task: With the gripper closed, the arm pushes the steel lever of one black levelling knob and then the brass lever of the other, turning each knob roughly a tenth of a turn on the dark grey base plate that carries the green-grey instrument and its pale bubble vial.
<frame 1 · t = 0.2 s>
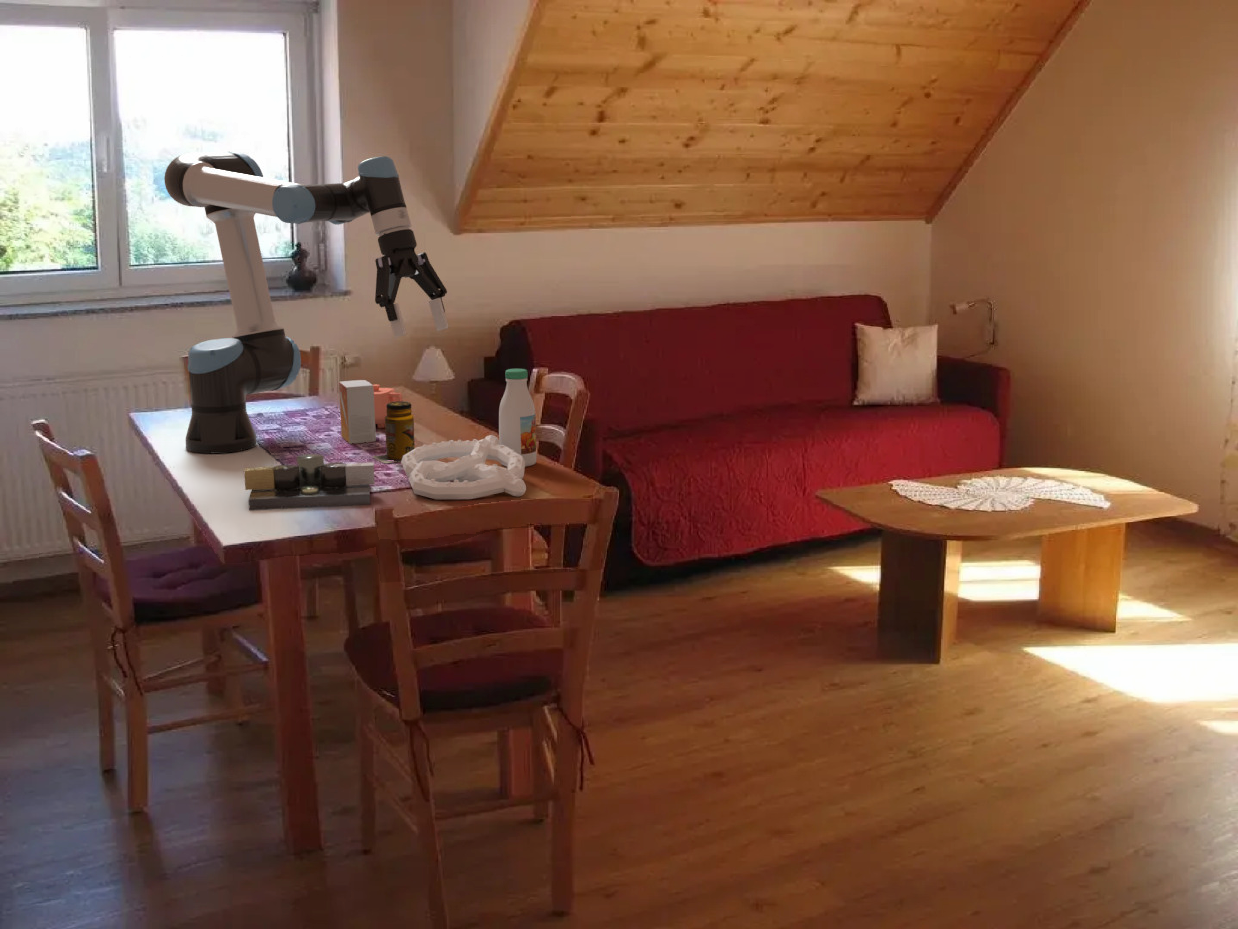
hand: (422, 332, 289), 28 cm above the table, fingers open, 13 cm apart
pretzel: (467, 485, 278), on the table
teapot: (375, 424, 336), on the table
condiment: (396, 459, 300), on the table
base plate: (311, 497, 268), on the table
brass lever knob: (272, 477, 266), point 4 cm above the table, hinge at 0.0°
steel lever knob: (347, 474, 268), point 4 cm above the table, hinge at 0.0°
milk bottle: (518, 464, 295), on the table
small box: (358, 440, 319), on the table
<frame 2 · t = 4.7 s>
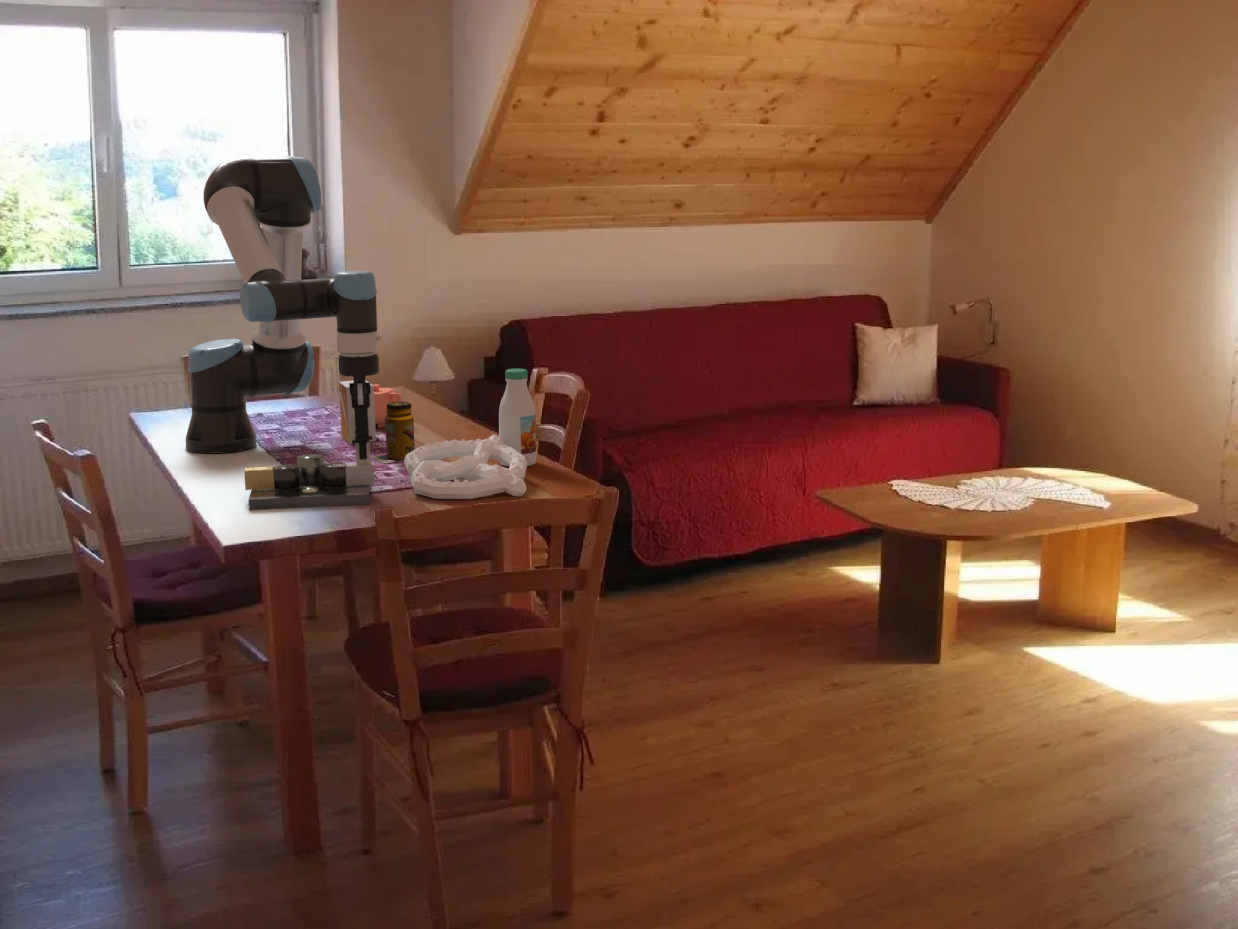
hand: (363, 474, 271), 4 cm above the table, fingers closed
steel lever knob: (347, 474, 268), point 4 cm above the table, hinge at 0.0°, touching gripper
everything else where it was.
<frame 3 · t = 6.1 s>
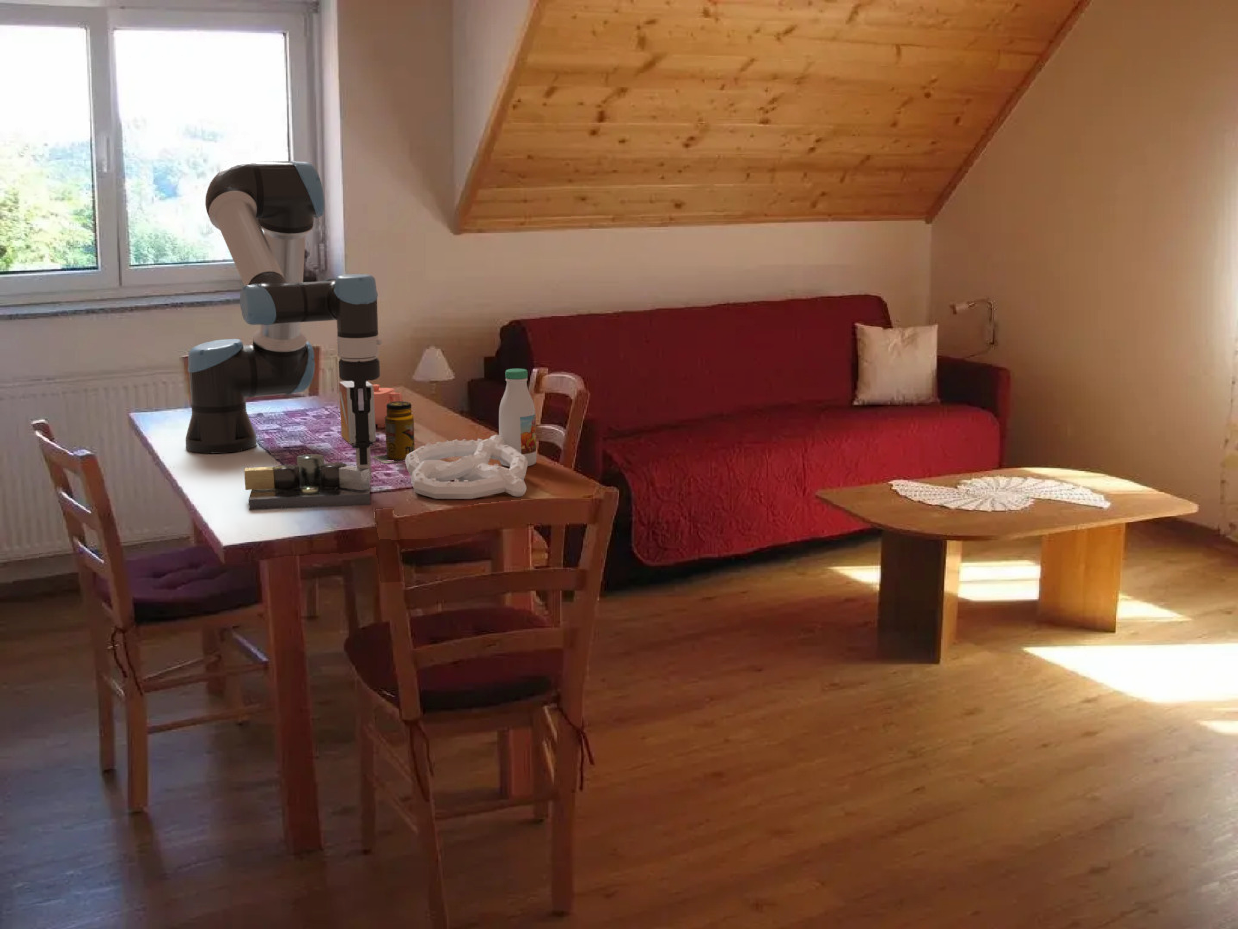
hand: (364, 479, 268), 3 cm above the table, fingers closed
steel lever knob: (344, 476, 267), point 4 cm above the table, hinge at -38.7°, touching gripper
everything else where it was.
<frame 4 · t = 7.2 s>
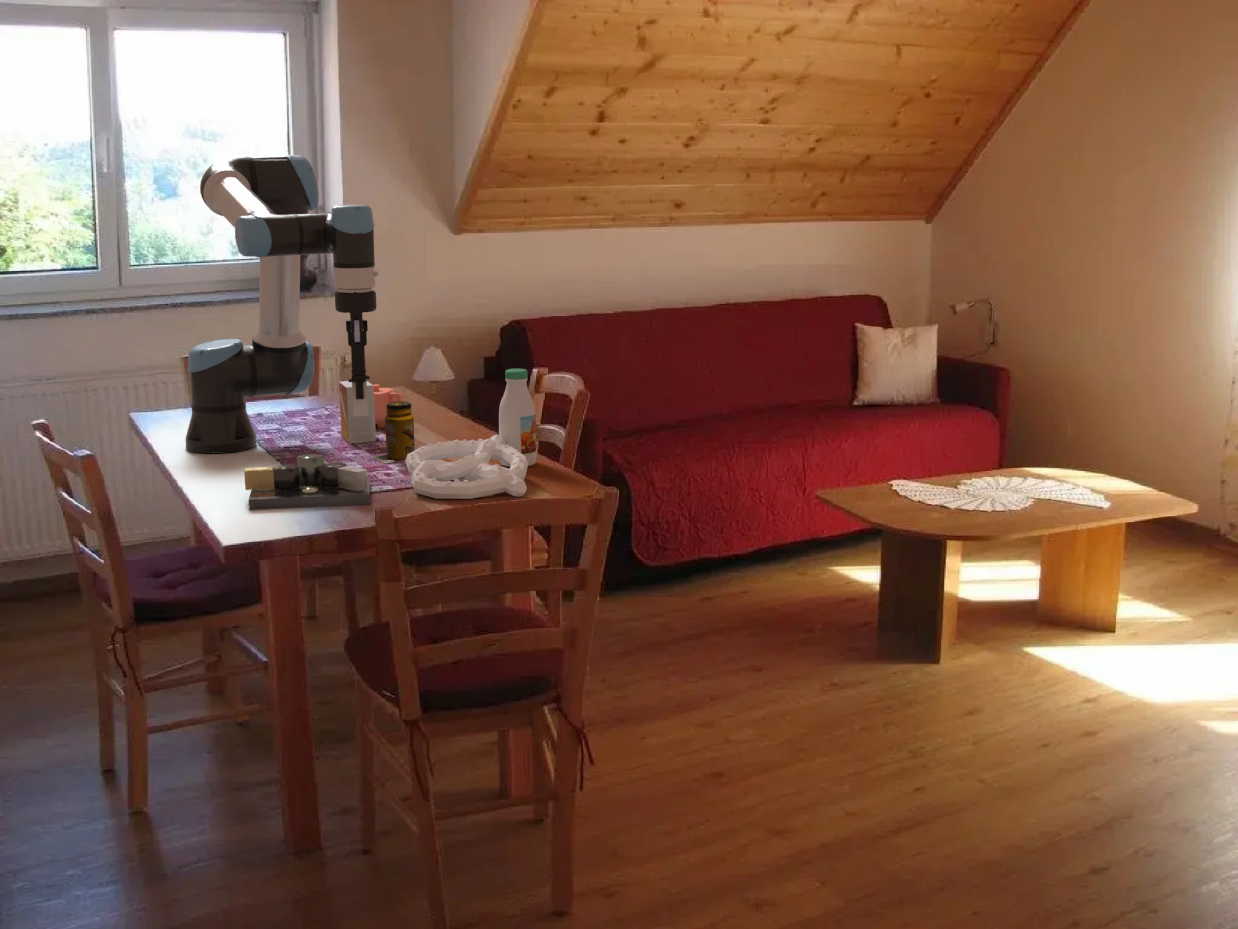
hand: (360, 414, 264), 16 cm above the table, fingers closed
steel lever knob: (343, 476, 266), point 4 cm above the table, hinge at -45.4°
everything else where it was.
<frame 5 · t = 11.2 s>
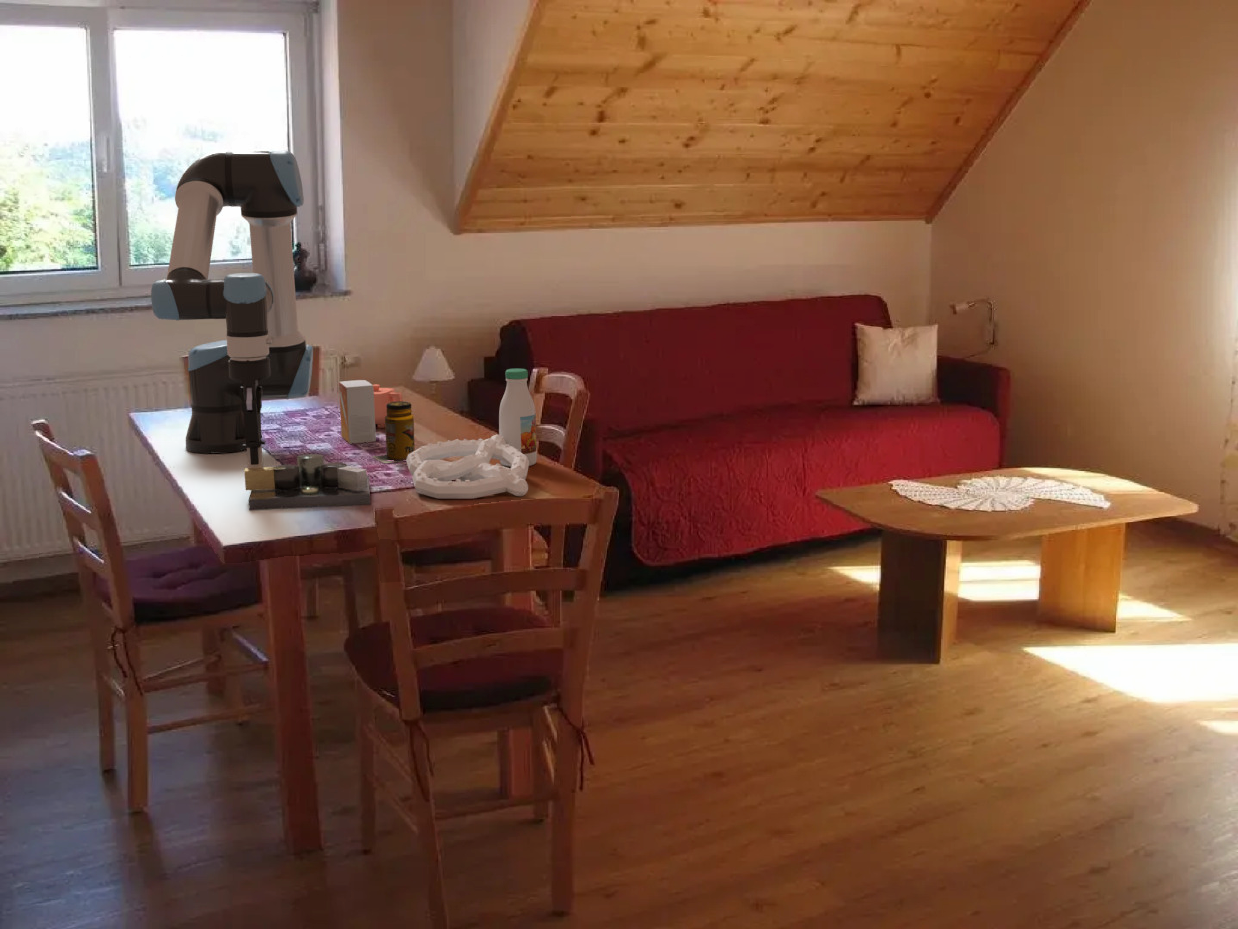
hand: (256, 479, 267), 4 cm above the table, fingers closed
pretzel: (470, 485, 278), on the table, touching milk bottle
brass lever knob: (272, 477, 266), point 4 cm above the table, hinge at 3.0°, touching gripper
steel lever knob: (343, 476, 266), point 4 cm above the table, hinge at -45.8°
milk bottle: (518, 464, 295), on the table, touching pretzel
everything else where it was.
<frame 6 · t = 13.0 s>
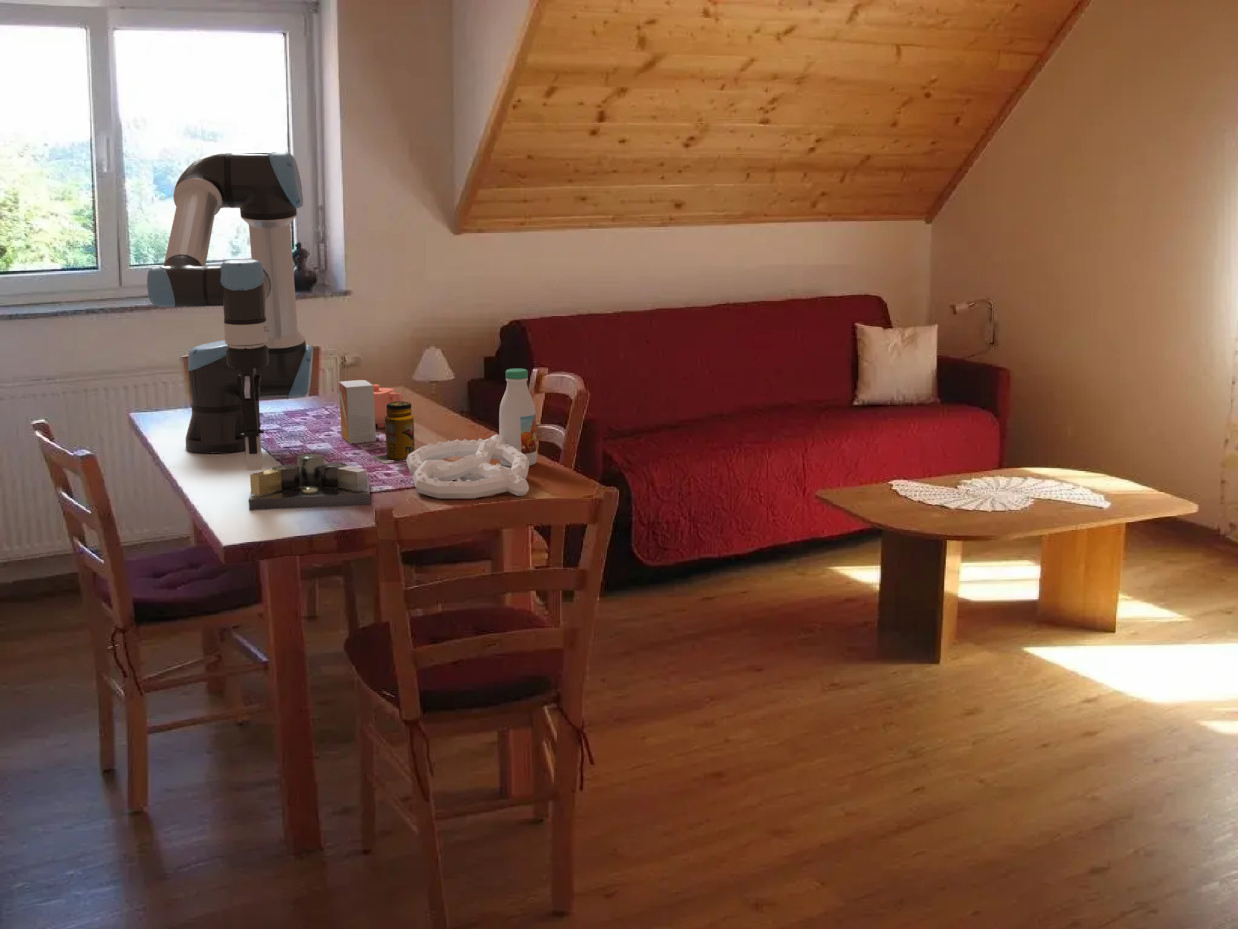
hand: (254, 469, 263), 6 cm above the table, fingers closed
brass lever knob: (275, 479, 264), point 4 cm above the table, hinge at 43.9°
everything else where it was.
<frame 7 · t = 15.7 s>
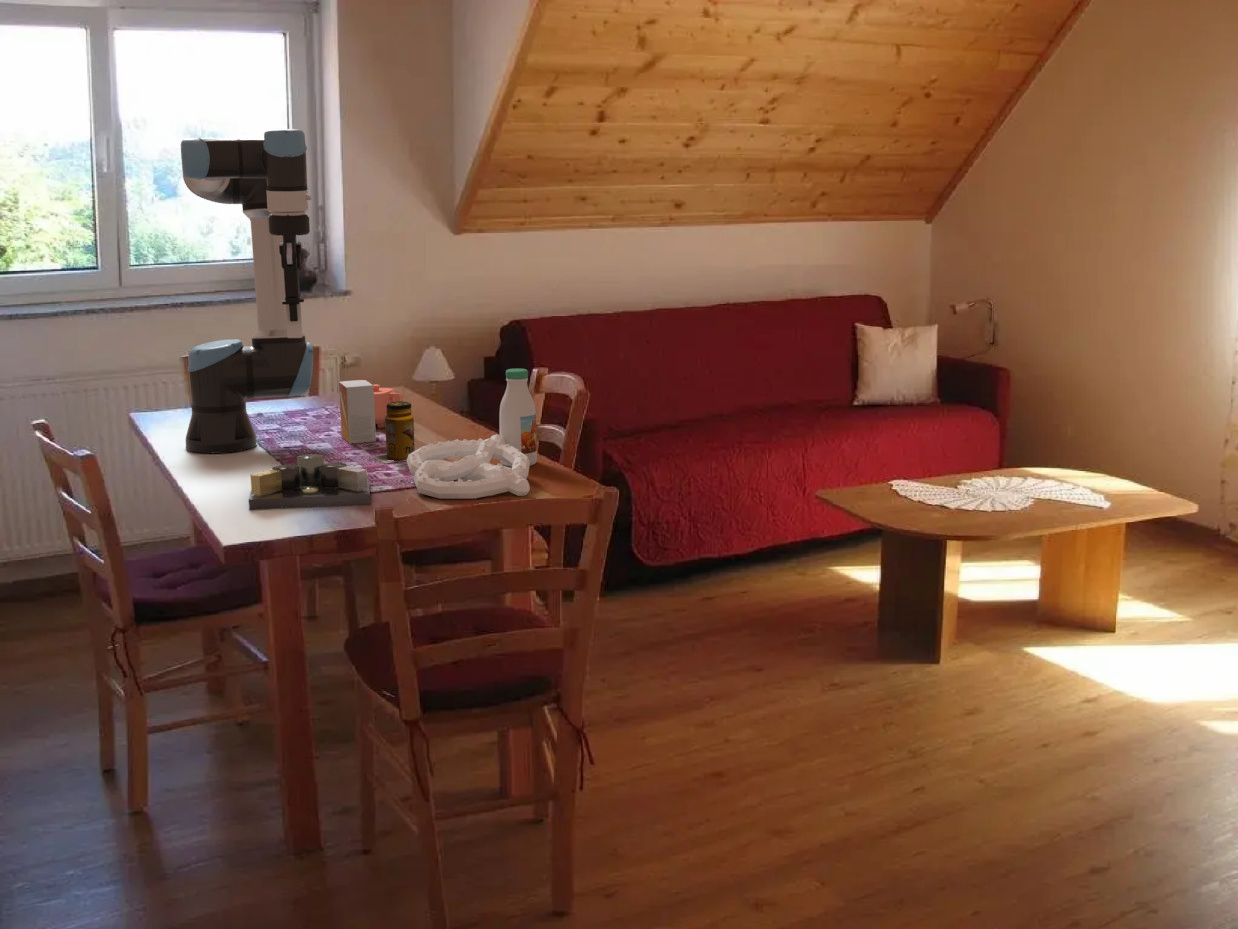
hand: (294, 337, 270), 30 cm above the table, fingers closed
pretzel: (471, 485, 278), on the table
brass lever knob: (275, 479, 264), point 4 cm above the table, hinge at 45.2°
milk bottle: (518, 464, 295), on the table
everything else where it was.
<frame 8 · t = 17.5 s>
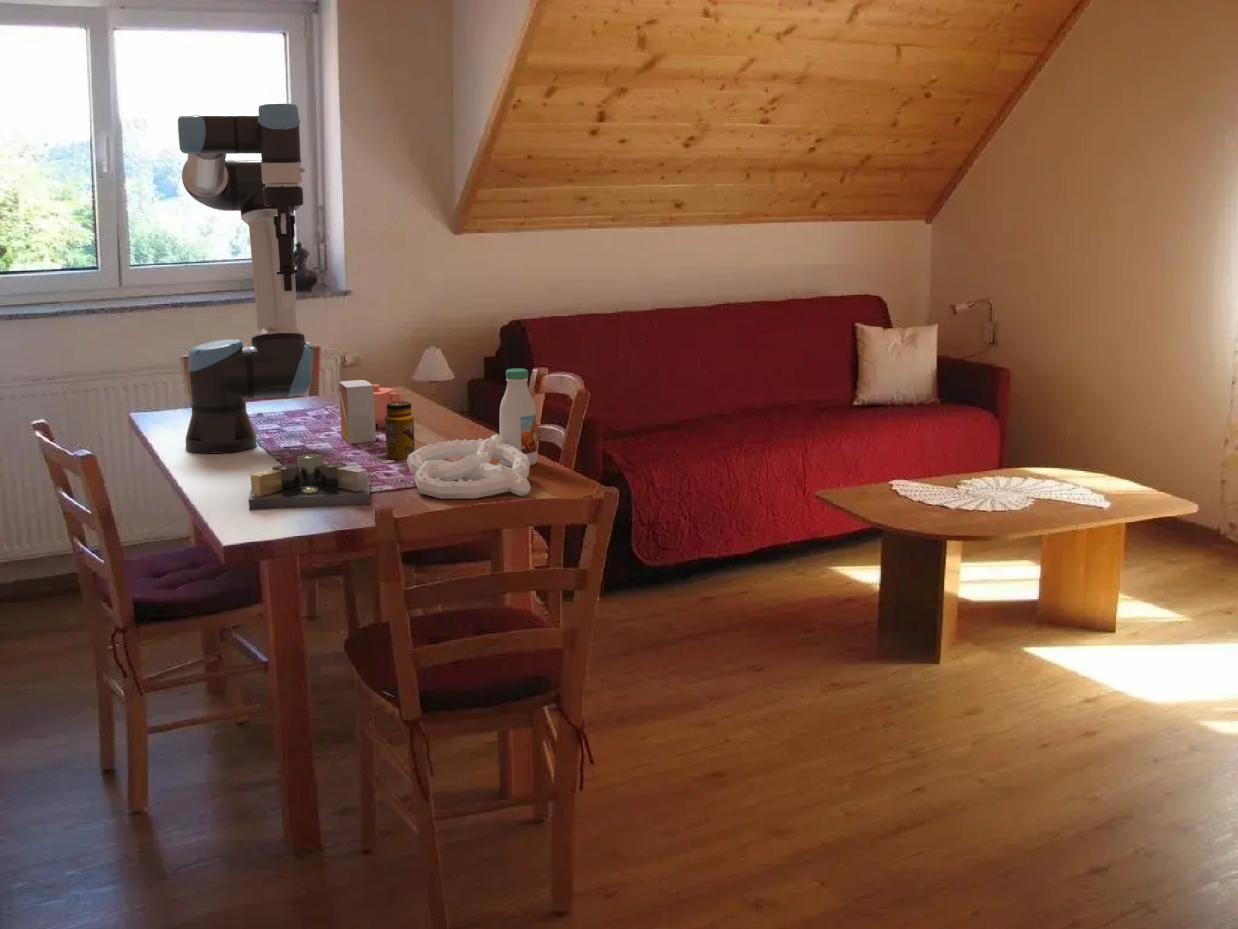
hand: (289, 307, 276), 34 cm above the table, fingers closed
nothing on the table moved.
at the end: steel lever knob at -46° (first picture: +0°); brass lever knob at +45° (first picture: +0°) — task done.
